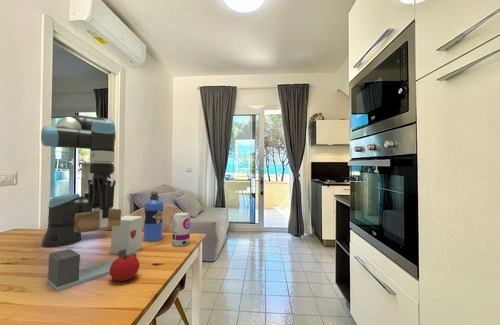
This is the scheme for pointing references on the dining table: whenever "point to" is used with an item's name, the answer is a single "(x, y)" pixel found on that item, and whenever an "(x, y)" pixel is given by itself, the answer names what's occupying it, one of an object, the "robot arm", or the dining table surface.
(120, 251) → the board
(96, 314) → the dining table surface
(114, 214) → the walnut slat
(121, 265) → the tomato
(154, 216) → the water bottle
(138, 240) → the supplement box
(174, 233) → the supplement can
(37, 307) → the dining table surface
